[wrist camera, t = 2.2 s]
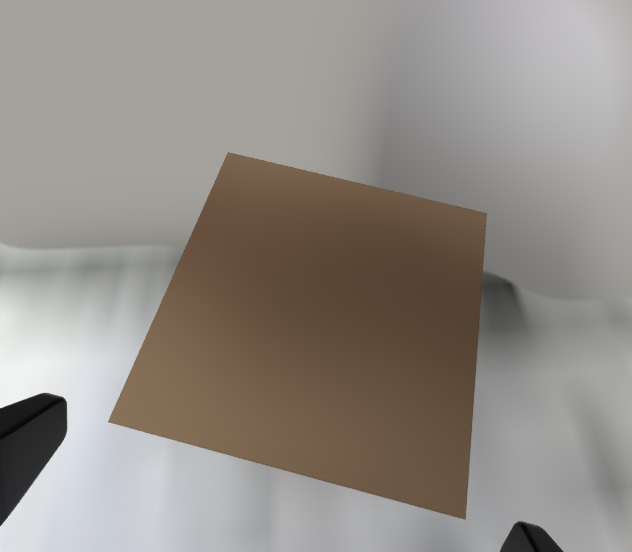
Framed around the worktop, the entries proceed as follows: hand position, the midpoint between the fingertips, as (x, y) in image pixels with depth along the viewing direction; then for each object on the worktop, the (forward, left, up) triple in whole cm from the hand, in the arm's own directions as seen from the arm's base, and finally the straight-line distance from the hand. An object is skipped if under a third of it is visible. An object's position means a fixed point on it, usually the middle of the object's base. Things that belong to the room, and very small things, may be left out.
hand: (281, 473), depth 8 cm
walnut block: (+2, -1, -10) cm, 10 cm away
